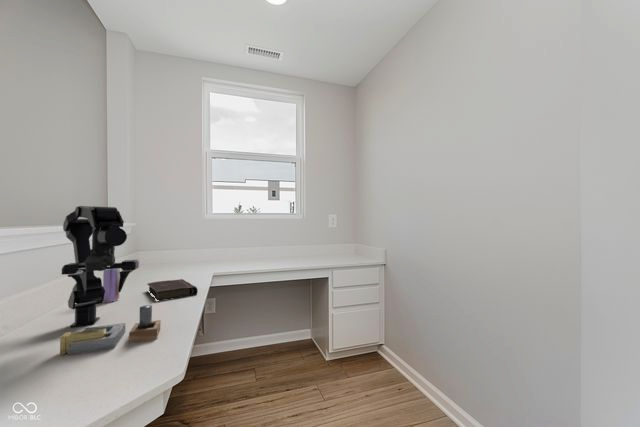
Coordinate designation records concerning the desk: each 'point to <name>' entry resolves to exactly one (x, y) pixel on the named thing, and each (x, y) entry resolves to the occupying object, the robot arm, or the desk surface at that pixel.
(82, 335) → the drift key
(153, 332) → the brown square tray
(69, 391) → the desk surface
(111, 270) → the beverage can
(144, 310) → the peg
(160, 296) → the diary
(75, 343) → the socket
